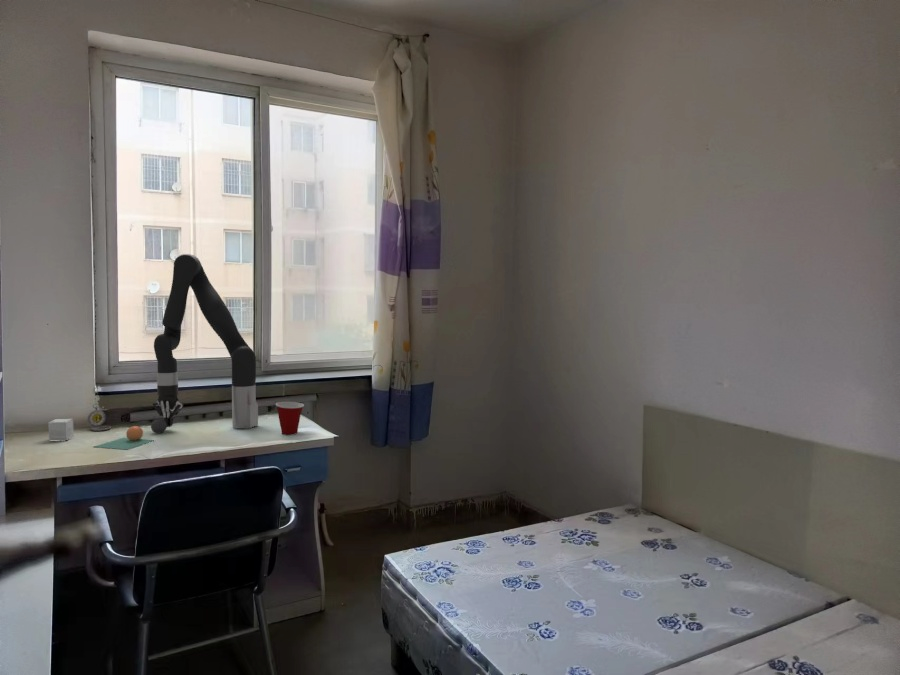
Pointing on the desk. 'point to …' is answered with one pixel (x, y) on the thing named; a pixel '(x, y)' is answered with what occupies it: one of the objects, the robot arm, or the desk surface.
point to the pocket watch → (97, 419)
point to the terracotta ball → (134, 433)
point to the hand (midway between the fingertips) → (168, 426)
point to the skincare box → (61, 429)
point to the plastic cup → (289, 416)
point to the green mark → (124, 443)
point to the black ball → (158, 426)
